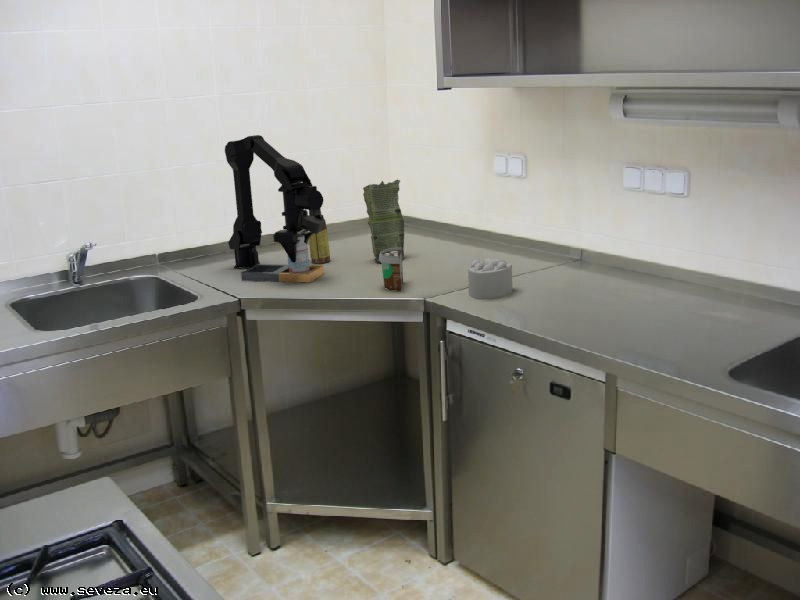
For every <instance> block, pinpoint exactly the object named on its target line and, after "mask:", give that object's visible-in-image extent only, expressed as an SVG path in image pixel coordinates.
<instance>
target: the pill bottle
mask: <svg viewBox="0 0 800 600" xmlns="http://www.w3.org/2000/svg"><path fill="white" fill-rule="evenodd" d="M297 240H300V241H299V243H298V244H297V247H296V262H292V261H291V260H290V258H289V256H288V255H287V263H288V264H287V265H289V273H308V272H309V271H310V269H309V265H310V259H309V258H310V257H309V247H308V243H307V244H306V243H304V240H305V238H304V235H298V238H297Z"/></svg>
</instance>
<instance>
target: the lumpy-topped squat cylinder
mask: <svg viewBox="0 0 800 600" xmlns="http://www.w3.org/2000/svg"><path fill="white" fill-rule="evenodd" d="M467 272H468V273H467V276H468V277H467V279H468V296H469V297H470V298H472V299H474V300H475V299H476V300H494V299H499V298H501V297H502V298H503V297H506V296H507V295H509V294H510V293H512V292H513V263H511V262H507V261H506V260H505V259H501V258H492V257H488V258H487V257H486V258H484V260H481V261H480V260H479V259H474V260H472V262H470V265H469V266H468V268H467Z"/></svg>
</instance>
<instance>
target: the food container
mask: <svg viewBox="0 0 800 600" xmlns="http://www.w3.org/2000/svg"><path fill="white" fill-rule="evenodd" d="M379 261H380V262H381V271H382V278H383V279H382V280H383V286H384V289H385V288H387V289H389V290H388V291H391V290H397V291H396V292H402V291H401V290H403V286H404V272H403V256H402V247H396V248H389V249H385V250H382V251H381V252H380V254H379ZM380 262H379V263H380ZM387 289H386V290H387Z"/></svg>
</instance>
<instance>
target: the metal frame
mask: <svg viewBox="0 0 800 600" xmlns="http://www.w3.org/2000/svg"><path fill="white" fill-rule="evenodd" d="M309 269H310V271H309V272H308V273H289V265H288V264H283V263H282V264H276V263H275V264H274V263H271V264H270V263H268V264H267V263H260V264H257V265H255V266H253V267H251V268H246V269H244V270H243V271H241V272H240V275H241V276H240V277H241V282H243V281H244V282H266V281H271V282H272V281H273V283H275V282H276V283H299V282H310V283H312V282H313V281H315V280H316V279H318V278H319V276H320V277H321V276H323V275H324V274H325V265H321V264H318V265H316V264H315V265H313V264H312V265H311V264H309ZM322 274H323V275H322ZM317 277H318V278H317ZM314 279H315V280H314ZM312 280H313V281H312ZM280 281H281V282H280ZM282 281H283V282H282ZM284 281H285V282H284ZM311 281H312V282H311ZM271 282H270V283H271Z"/></svg>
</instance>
